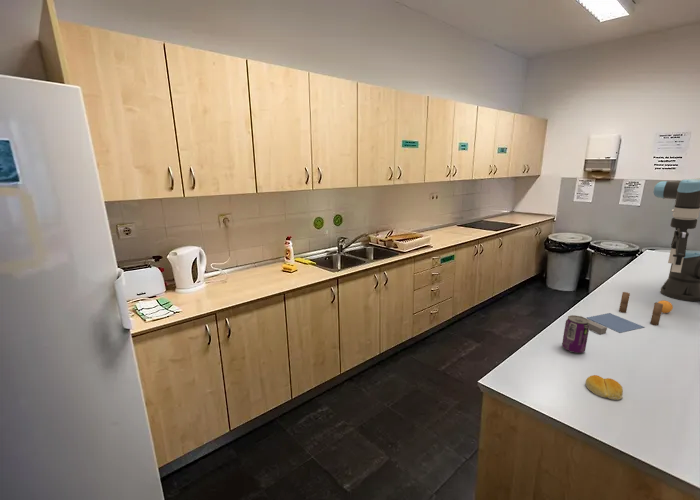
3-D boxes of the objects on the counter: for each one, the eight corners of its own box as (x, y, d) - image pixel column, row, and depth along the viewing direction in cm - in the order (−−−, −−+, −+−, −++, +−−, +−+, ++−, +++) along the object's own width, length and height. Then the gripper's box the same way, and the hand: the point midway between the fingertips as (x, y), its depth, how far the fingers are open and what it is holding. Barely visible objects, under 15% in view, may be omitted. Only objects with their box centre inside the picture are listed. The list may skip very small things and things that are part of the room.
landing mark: (609, 313, 150) (609, 312, 150) (644, 327, 137) (644, 326, 137) (586, 318, 146) (586, 317, 146) (619, 332, 133) (619, 332, 133)
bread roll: (584, 379, 106) (586, 367, 105) (620, 388, 101) (622, 377, 100) (585, 393, 99) (587, 382, 98) (623, 404, 94) (626, 392, 93)
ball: (659, 309, 154) (662, 297, 152) (674, 313, 148) (677, 302, 147) (651, 310, 152) (654, 299, 151) (665, 315, 147) (668, 304, 145)
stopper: (579, 321, 143) (580, 316, 142) (605, 333, 133) (606, 327, 132) (574, 322, 142) (575, 317, 141) (600, 334, 132) (601, 328, 131)
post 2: (652, 322, 141) (657, 302, 139) (660, 324, 139) (664, 304, 137) (648, 323, 141) (653, 303, 138) (655, 325, 138) (660, 305, 136)
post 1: (621, 310, 153) (625, 291, 151) (627, 312, 151) (631, 293, 148) (617, 311, 152) (621, 292, 150) (623, 313, 150) (627, 294, 148)
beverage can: (588, 355, 118) (594, 324, 115) (566, 353, 119) (571, 322, 116) (579, 345, 125) (584, 315, 122) (558, 343, 126) (563, 314, 123)
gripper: (669, 213, 149) (659, 258, 154) (675, 222, 130) (664, 274, 135) (692, 214, 144) (682, 261, 150) (703, 224, 125) (690, 277, 131)
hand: (673, 267), depth 142 cm, fingers open, 13 cm apart
